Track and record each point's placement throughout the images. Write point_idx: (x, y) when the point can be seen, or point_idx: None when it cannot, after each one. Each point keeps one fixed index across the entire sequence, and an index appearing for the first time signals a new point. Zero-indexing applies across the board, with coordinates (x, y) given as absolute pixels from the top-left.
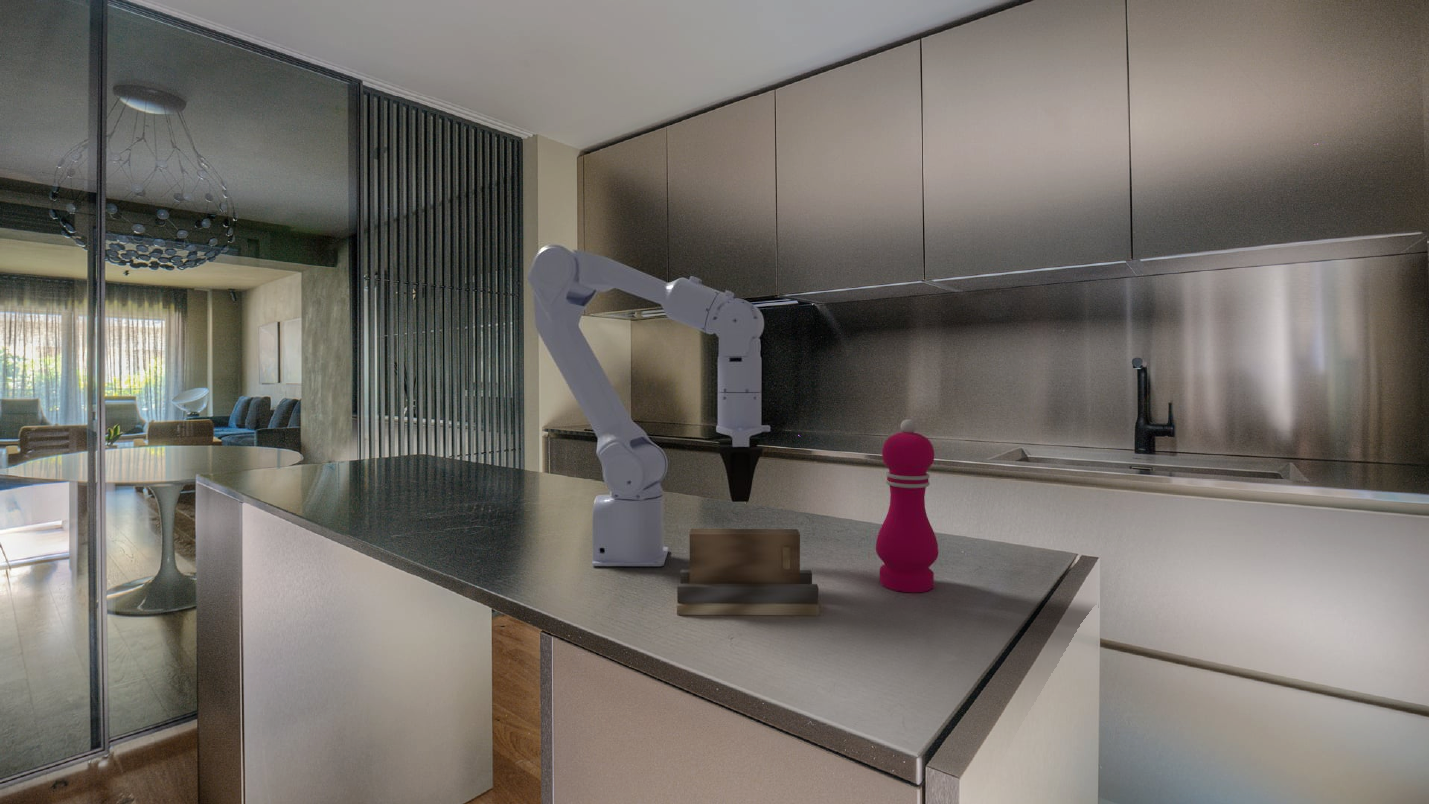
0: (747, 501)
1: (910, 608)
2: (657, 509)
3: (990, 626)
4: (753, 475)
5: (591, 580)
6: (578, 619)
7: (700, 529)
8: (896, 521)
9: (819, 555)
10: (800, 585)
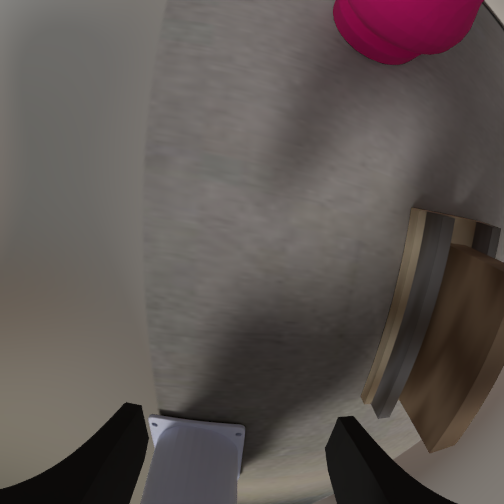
0: (355, 418)
1: (468, 82)
2: (213, 499)
3: (497, 39)
4: (406, 473)
5: (288, 471)
6: (398, 451)
7: (440, 441)
8: (477, 9)
9: (168, 123)
10: (490, 254)
